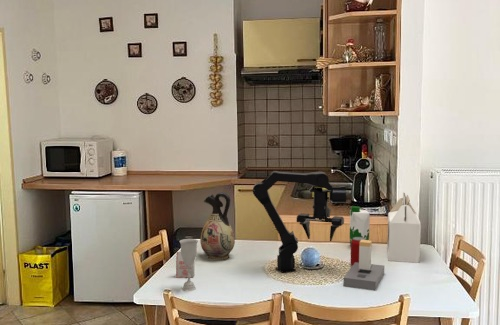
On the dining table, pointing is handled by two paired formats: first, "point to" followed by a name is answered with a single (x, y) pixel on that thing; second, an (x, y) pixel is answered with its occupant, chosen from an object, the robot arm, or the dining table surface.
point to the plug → (365, 254)
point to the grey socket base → (364, 277)
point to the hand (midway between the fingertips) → (319, 240)
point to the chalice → (188, 259)
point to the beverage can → (355, 249)
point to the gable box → (403, 232)
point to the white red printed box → (182, 267)
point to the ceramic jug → (217, 230)
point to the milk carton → (359, 223)
